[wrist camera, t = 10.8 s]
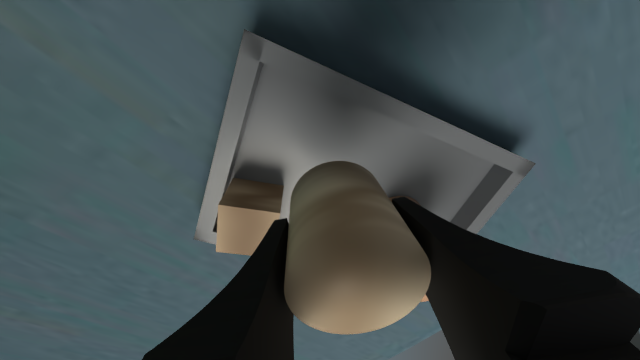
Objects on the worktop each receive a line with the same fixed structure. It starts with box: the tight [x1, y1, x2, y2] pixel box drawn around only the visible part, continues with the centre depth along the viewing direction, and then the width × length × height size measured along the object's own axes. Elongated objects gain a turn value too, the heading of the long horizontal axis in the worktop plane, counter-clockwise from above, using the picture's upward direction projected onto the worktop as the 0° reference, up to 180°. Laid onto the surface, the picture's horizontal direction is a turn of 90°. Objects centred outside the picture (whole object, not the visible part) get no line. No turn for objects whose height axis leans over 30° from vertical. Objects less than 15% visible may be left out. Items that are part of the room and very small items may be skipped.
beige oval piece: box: [284, 161, 431, 334], centre depth 11 cm, size 5×5×6 cm
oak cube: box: [216, 178, 284, 255], centre depth 18 cm, size 4×4×4 cm
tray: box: [194, 29, 536, 244], centre depth 20 cm, size 22×15×2 cm
